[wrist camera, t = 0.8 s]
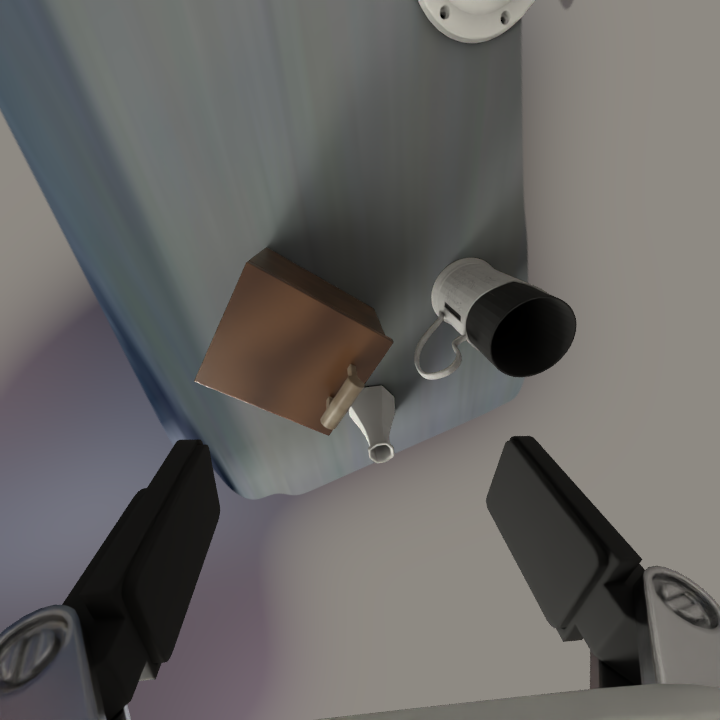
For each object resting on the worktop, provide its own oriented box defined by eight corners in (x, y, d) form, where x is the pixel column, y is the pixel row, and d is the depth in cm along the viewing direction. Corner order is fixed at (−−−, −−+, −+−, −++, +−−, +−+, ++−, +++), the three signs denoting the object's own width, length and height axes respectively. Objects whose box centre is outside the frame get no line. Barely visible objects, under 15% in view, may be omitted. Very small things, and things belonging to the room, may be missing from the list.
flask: (384, 377, 44) (398, 420, 36) (402, 413, 48) (419, 461, 39) (339, 396, 45) (341, 444, 36) (359, 431, 49) (366, 482, 40)
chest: (374, 308, 40) (385, 335, 32) (323, 388, 44) (322, 428, 37) (266, 247, 35) (248, 260, 27) (222, 343, 40) (196, 377, 32)
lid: (392, 339, 32) (403, 362, 28) (328, 431, 37) (328, 464, 32) (248, 260, 27) (232, 272, 23) (196, 377, 32) (174, 407, 28)
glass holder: (506, 304, 41) (591, 354, 28) (410, 355, 43) (446, 423, 30) (486, 243, 37) (573, 267, 24) (381, 302, 39) (408, 353, 26)
